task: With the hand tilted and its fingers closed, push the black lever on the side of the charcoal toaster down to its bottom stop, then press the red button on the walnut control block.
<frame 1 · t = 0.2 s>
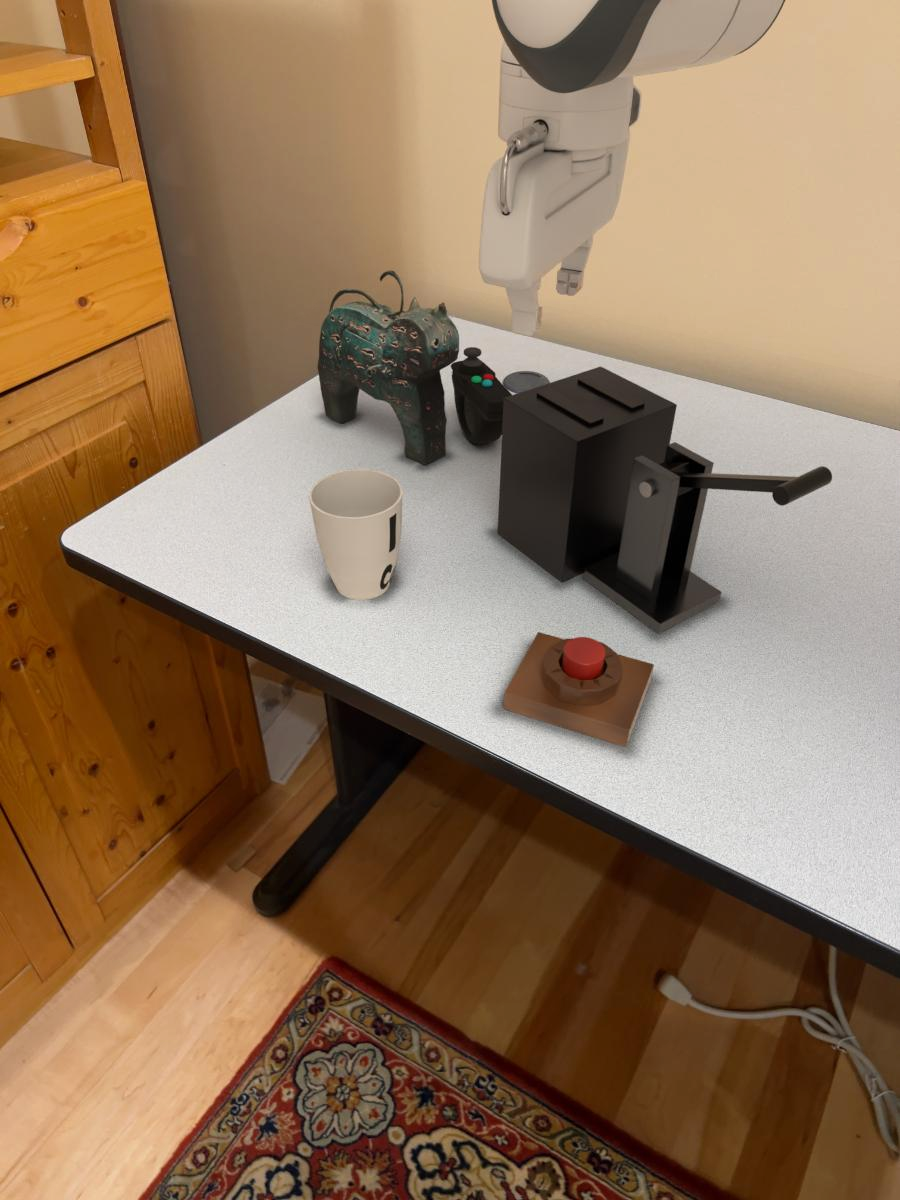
hand: (548, 311, 68), 25 cm above the table, tool pointing down, fingers open, 8 cm apart
toaster: (574, 537, 89), on the table
ceramic cat: (383, 440, 105), on the table
cup: (362, 585, 83), on the table
toaster bracket: (649, 589, 82), on the table
control block: (578, 694, 72), on the table
toaster lever: (727, 481, 70), point 15 cm above the table, hinge at 24.0°
cancel button: (583, 658, 69), point 4 cm above the table, slide at 0.1 cm
controller: (481, 443, 105), on the table
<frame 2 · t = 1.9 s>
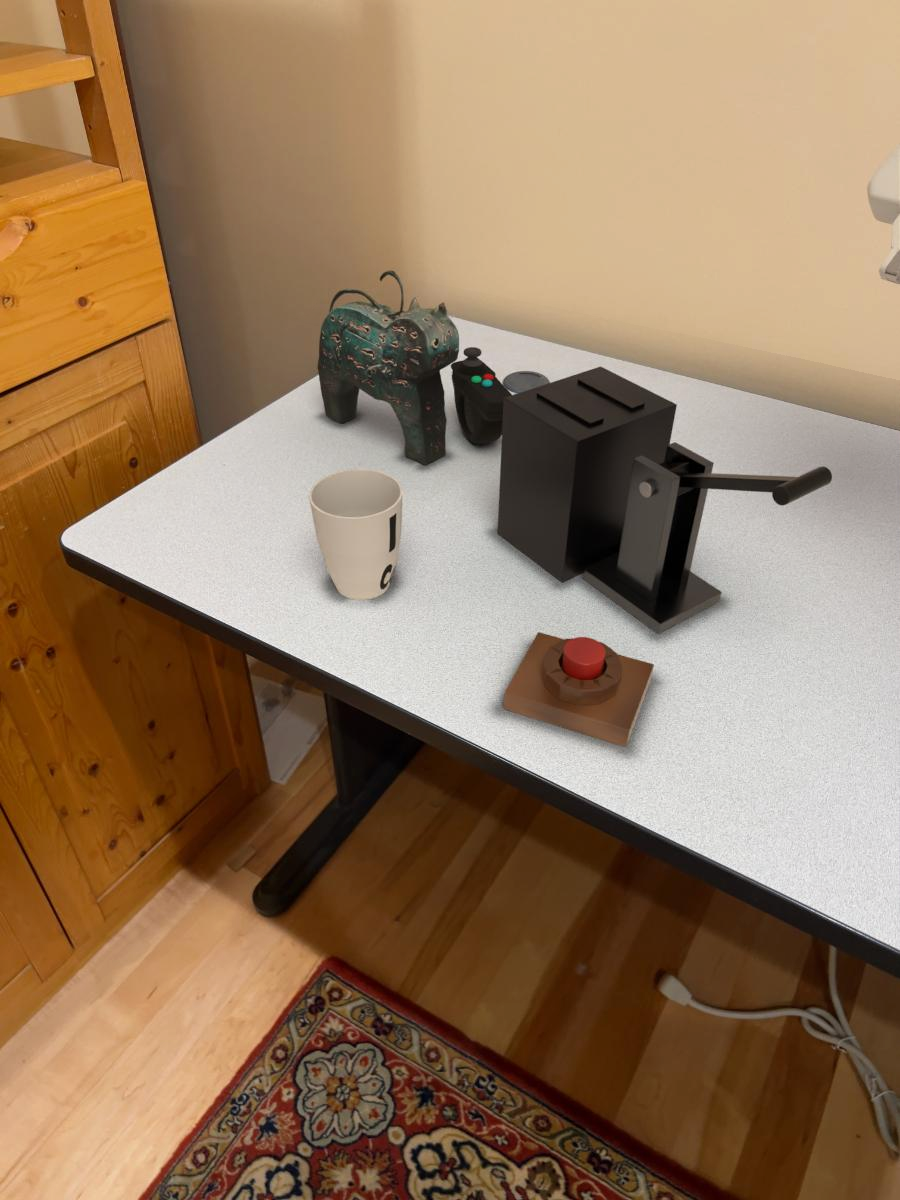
nothing on the table moved.
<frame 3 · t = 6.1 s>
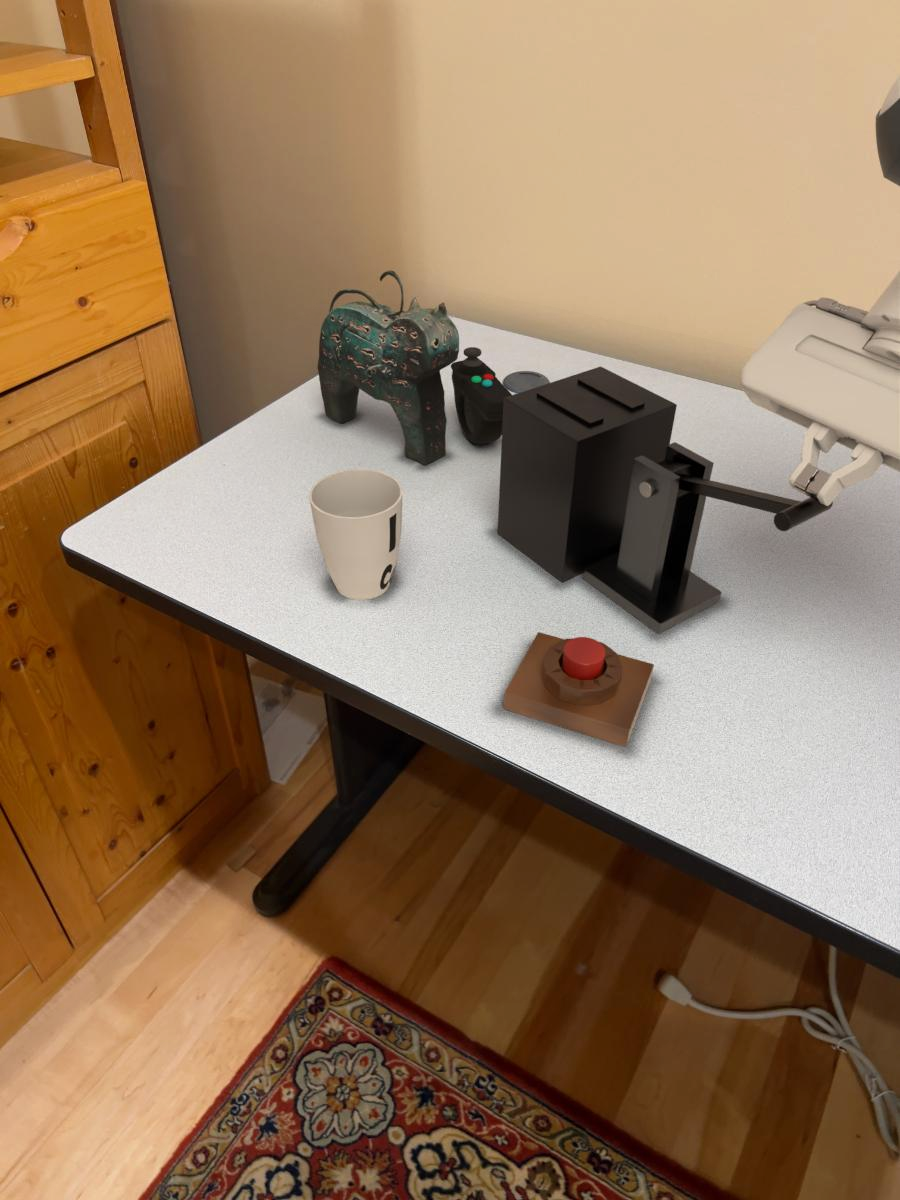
hand: (807, 494, 64), 17 cm above the table, tool tilted 45°, fingers closed
toaster lever: (728, 493, 70), point 14 cm above the table, hinge at 15.2°, touching gripper
everything else where it was.
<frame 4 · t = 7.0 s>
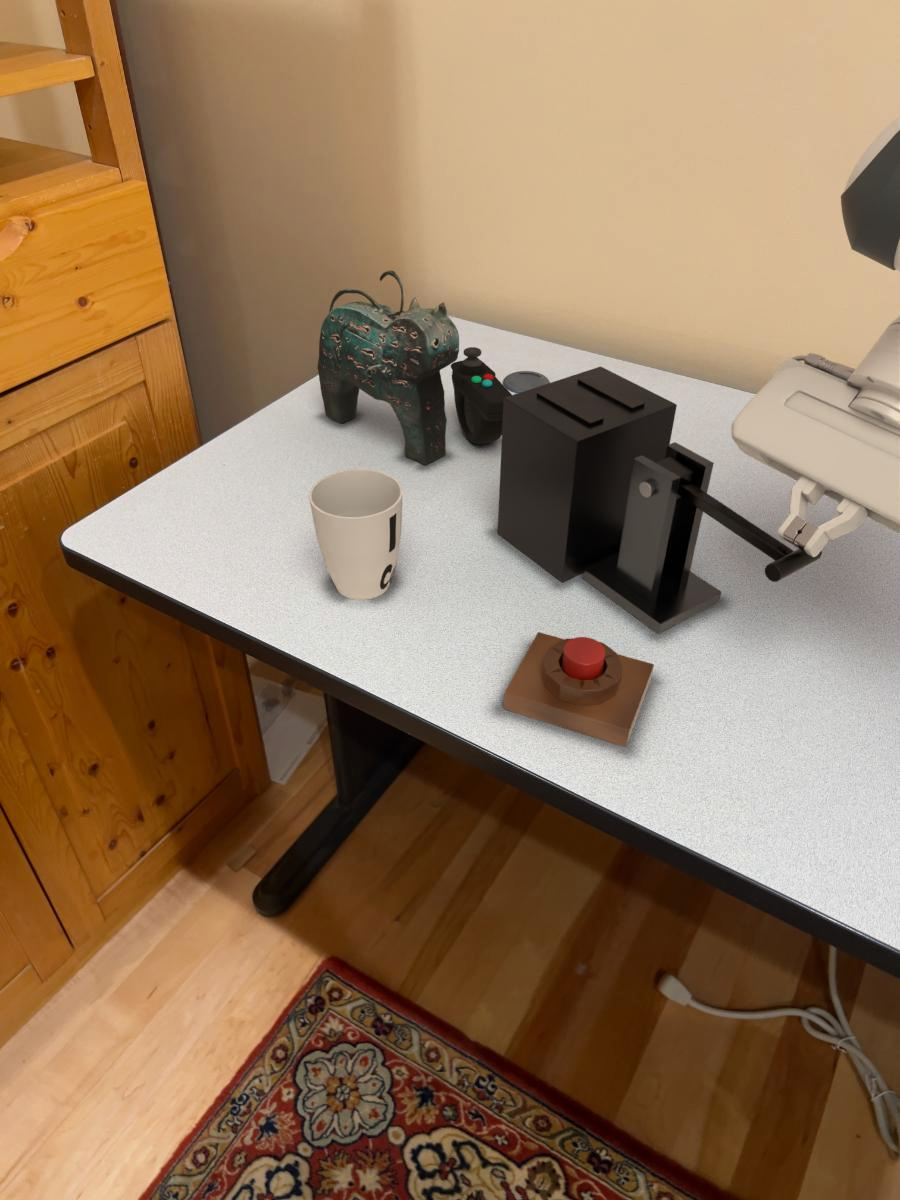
hand: (795, 545, 67), 12 cm above the table, tool tilted 45°, fingers closed
toaster lever: (725, 516, 71), point 12 cm above the table, hinge at -4.2°, touching gripper
everything else where it was.
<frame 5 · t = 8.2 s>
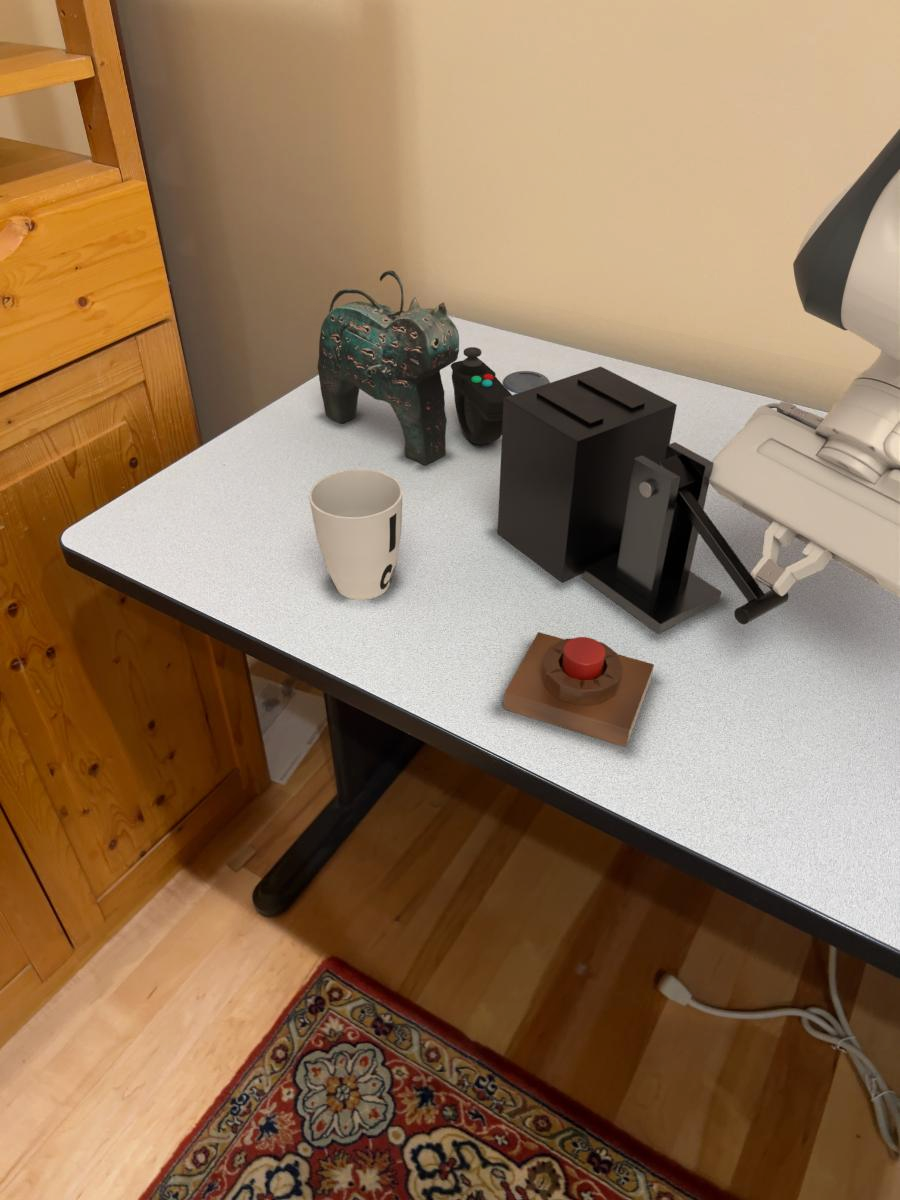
hand: (765, 585, 71), 8 cm above the table, tool tilted 45°, fingers closed
toaster lever: (712, 537, 73), point 9 cm above the table, hinge at -28.5°, touching gripper
everything else where it was.
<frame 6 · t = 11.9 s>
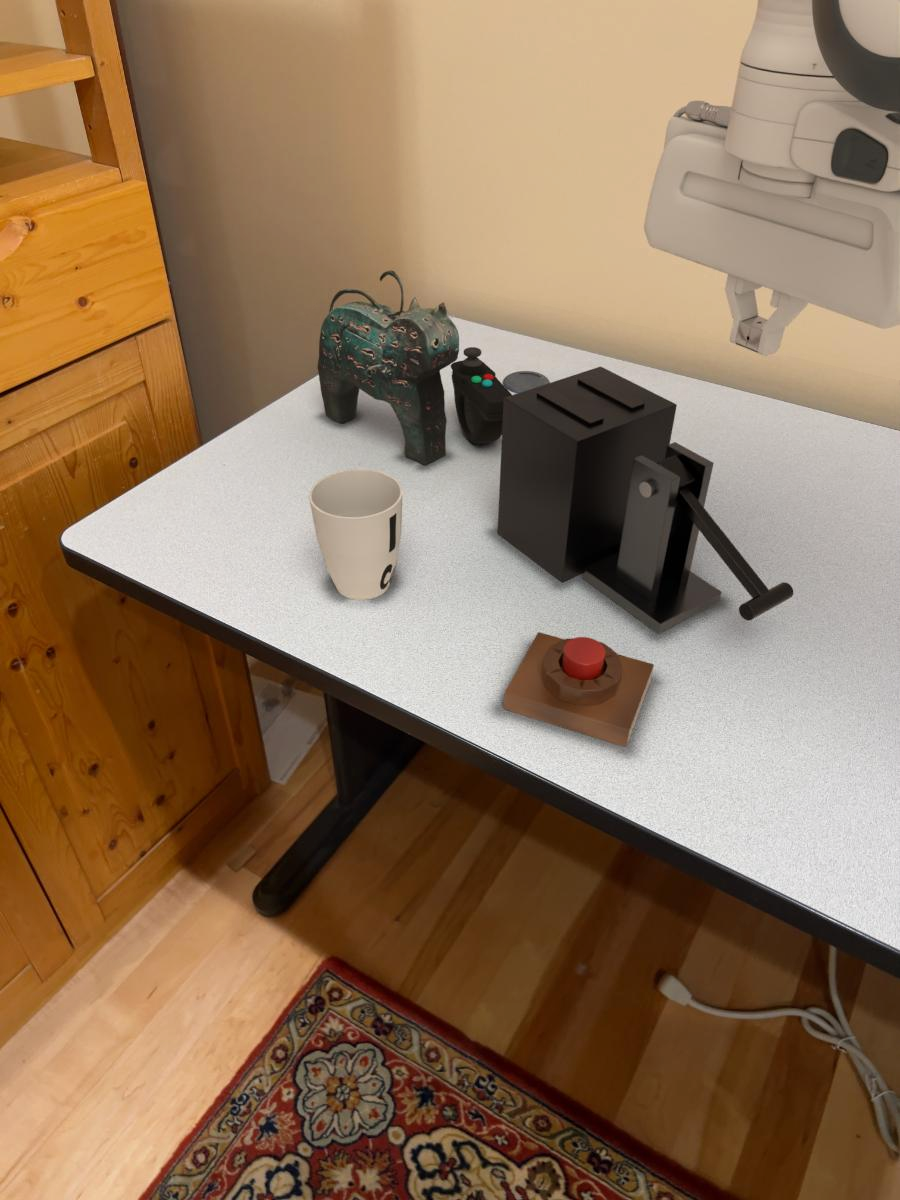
hand: (753, 347, 61), 27 cm above the table, tool pointing down, fingers closed
toaster lever: (714, 535, 73), point 9 cm above the table, hinge at -25.5°
everything else where it was.
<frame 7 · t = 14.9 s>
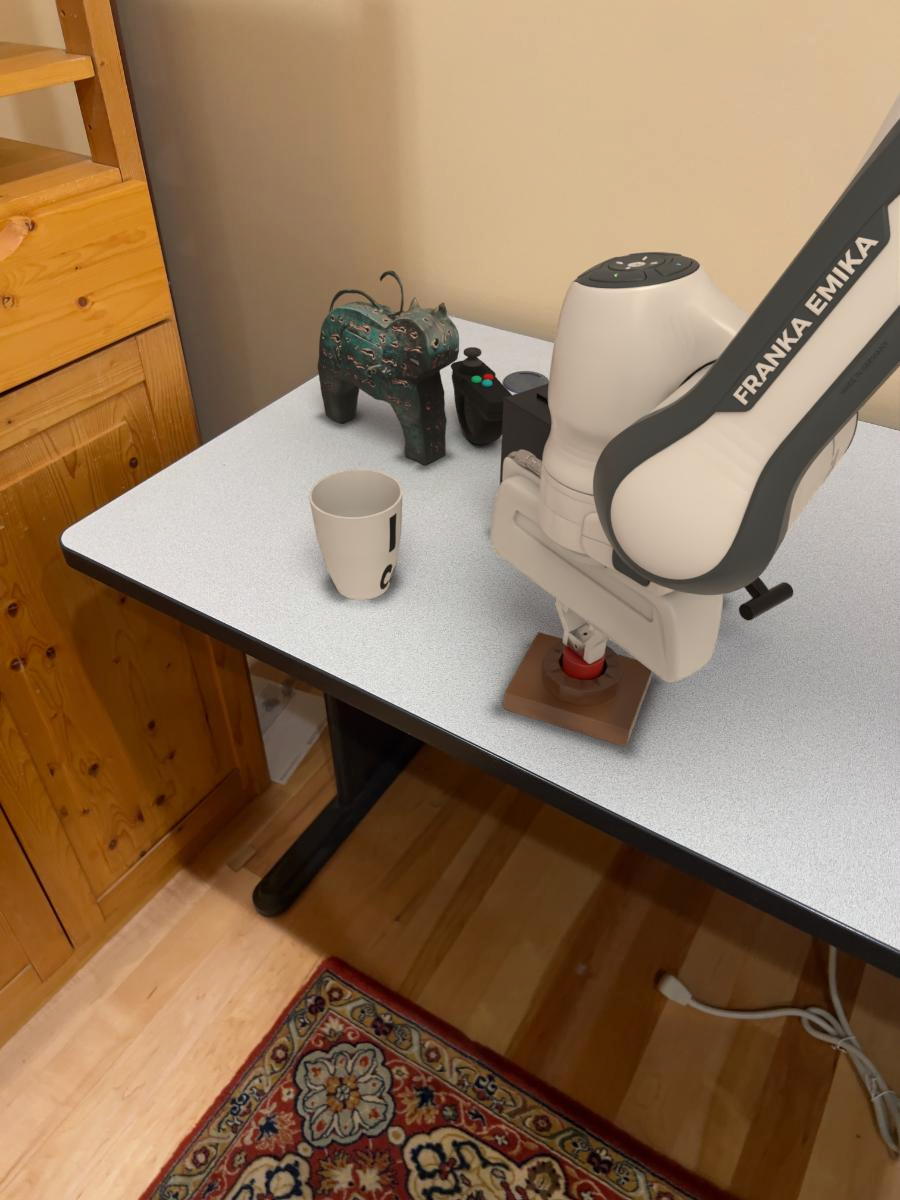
hand: (582, 651, 69), 5 cm above the table, tool pointing down, fingers closed, pressing on cancel button
cancel button: (583, 660, 69), point 4 cm above the table, slide at 0.0 cm, touching gripper
everything else where it was.
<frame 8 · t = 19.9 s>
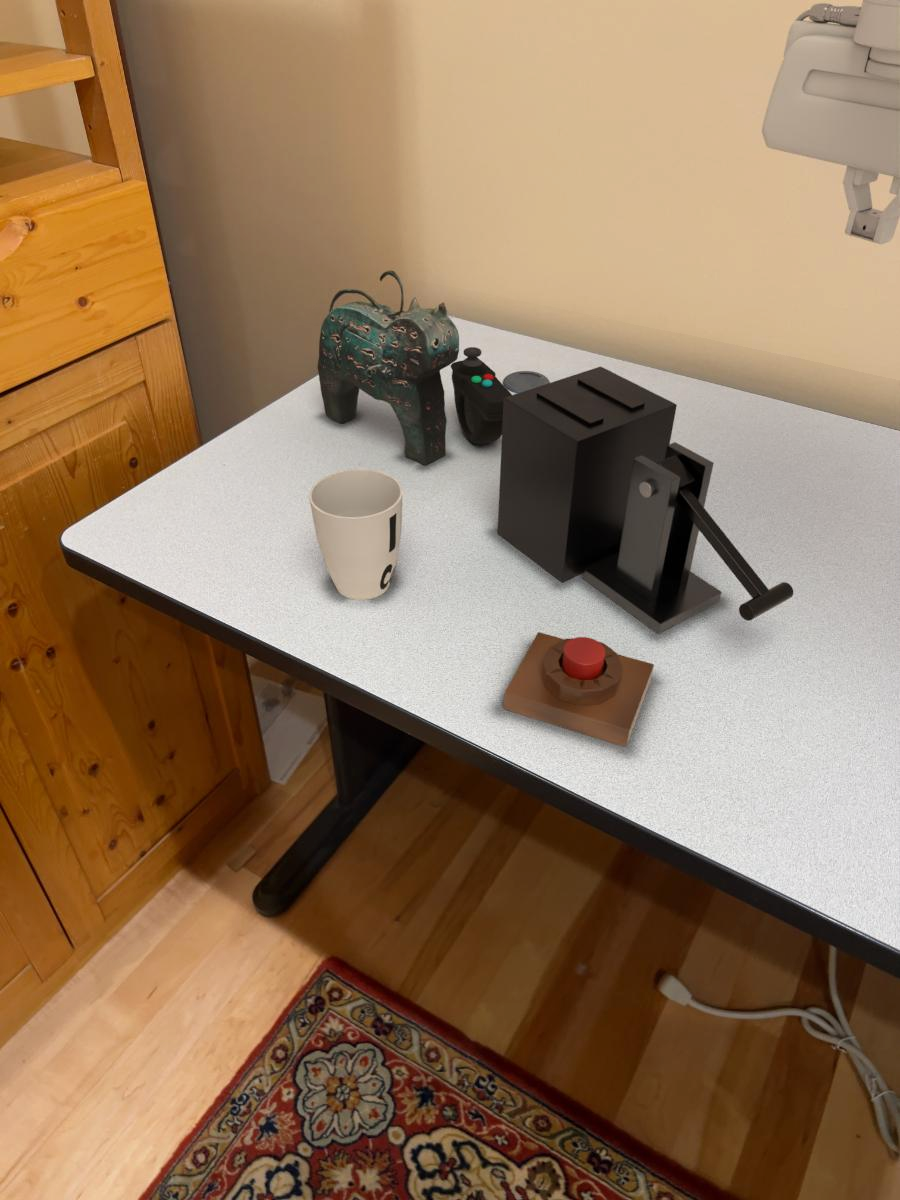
hand: (867, 238, 65), 31 cm above the table, tool pointing down, fingers closed
cancel button: (583, 658, 69), point 4 cm above the table, slide at 0.1 cm
everything else where it was.
at the end: toaster lever at -26° (first picture: +24°); cancel button pushed in 0.9 cm at the most during the clip, back to where it started at the end; cancel button slide at 0.1 cm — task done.
